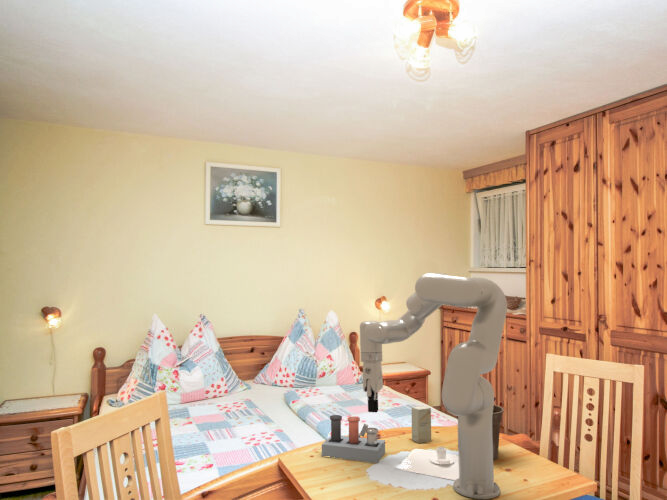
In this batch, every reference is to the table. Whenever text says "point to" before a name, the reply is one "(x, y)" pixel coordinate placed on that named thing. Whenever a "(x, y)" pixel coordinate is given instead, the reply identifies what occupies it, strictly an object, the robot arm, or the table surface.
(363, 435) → the grey white bent piece
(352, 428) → the plug red
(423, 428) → the skincare box
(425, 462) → the teacup and saucer
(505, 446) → the table surface
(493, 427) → the plant pot
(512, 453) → the table surface
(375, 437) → the plug grey
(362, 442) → the socket board
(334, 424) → the plug black
